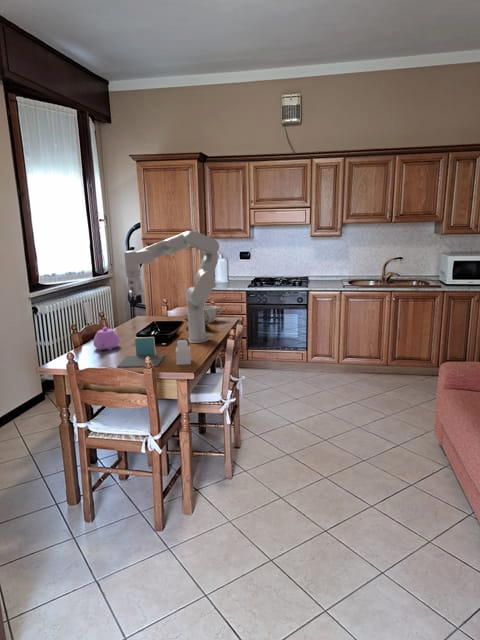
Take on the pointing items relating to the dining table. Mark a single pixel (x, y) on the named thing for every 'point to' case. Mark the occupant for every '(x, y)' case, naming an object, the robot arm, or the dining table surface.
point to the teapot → (106, 339)
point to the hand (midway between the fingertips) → (136, 304)
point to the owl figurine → (204, 320)
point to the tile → (145, 346)
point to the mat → (140, 361)
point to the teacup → (212, 312)
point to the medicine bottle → (183, 352)
